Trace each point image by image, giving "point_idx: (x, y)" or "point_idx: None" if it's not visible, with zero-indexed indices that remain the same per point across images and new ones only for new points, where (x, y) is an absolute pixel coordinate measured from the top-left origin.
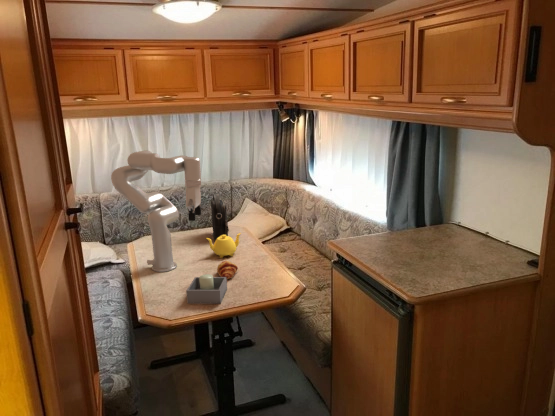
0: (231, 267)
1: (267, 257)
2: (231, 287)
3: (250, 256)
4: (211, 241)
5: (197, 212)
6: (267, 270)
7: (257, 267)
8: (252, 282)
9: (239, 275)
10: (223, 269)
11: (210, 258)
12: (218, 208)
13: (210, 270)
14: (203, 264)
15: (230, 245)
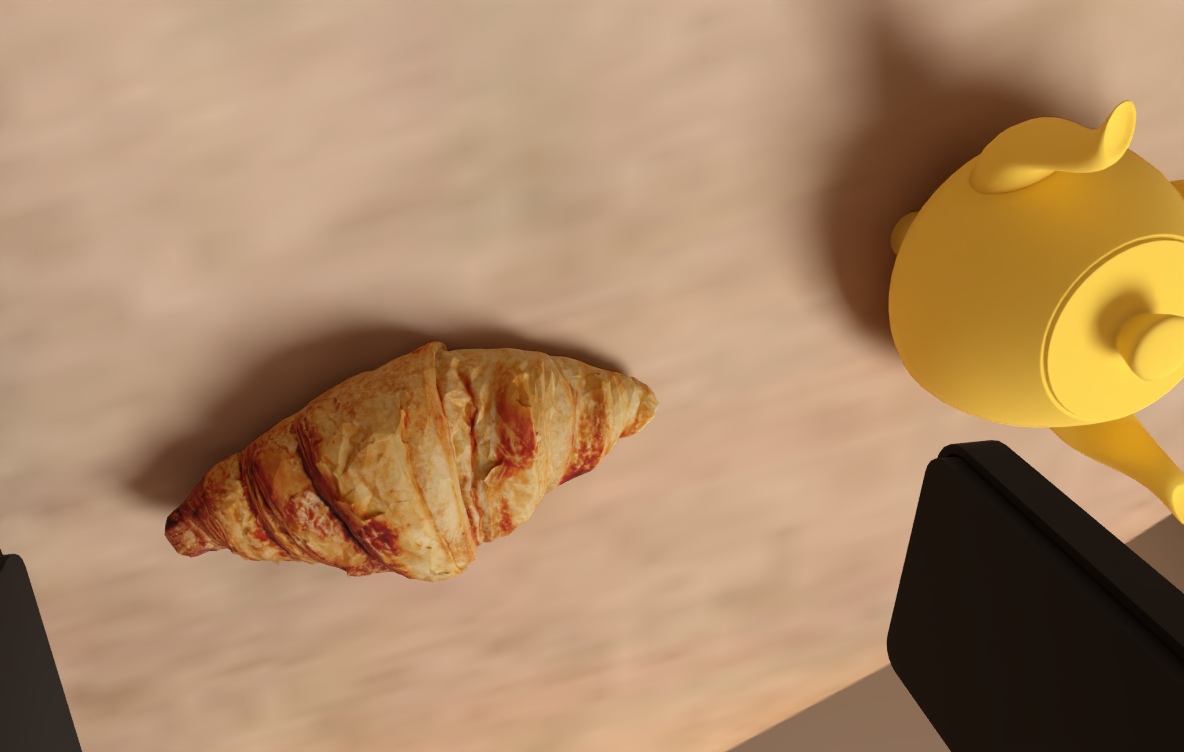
0: (354, 566)
1: (838, 660)
2: (39, 592)
3: (886, 519)
4: (1074, 172)
5: (971, 632)
6: (524, 746)
7: (595, 655)
8: (217, 721)
9: None
10: (275, 504)
11: (890, 110)
12: None
13: (498, 228)
14: (696, 77)
15: (978, 405)
